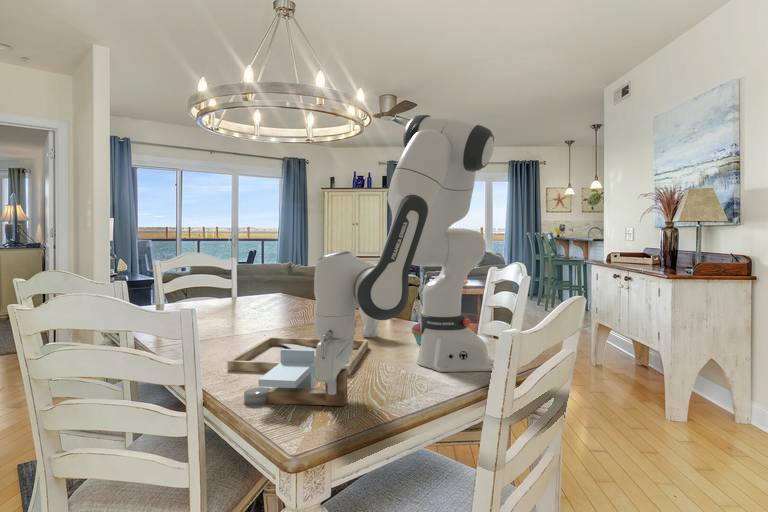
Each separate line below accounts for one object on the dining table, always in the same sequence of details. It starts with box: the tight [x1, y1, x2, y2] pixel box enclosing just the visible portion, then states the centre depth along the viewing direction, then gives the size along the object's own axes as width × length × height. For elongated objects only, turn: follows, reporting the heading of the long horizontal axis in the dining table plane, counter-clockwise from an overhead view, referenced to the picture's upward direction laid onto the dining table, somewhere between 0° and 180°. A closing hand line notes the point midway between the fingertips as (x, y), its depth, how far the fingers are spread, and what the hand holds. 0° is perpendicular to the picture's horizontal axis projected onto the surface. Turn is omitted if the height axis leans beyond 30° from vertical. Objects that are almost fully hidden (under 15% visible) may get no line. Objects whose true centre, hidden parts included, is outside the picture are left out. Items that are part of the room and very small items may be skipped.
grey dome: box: [243, 386, 272, 406], centre depth 100 cm, size 6×6×2 cm
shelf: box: [258, 348, 316, 389], centre depth 100 cm, size 8×14×10 cm, turn 173°
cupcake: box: [411, 307, 422, 345], centre depth 154 cm, size 9×8×12 cm
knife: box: [277, 343, 351, 365], centre depth 137 cm, size 37×8×2 cm, turn 38°
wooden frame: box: [226, 336, 369, 376], centre depth 135 cm, size 34×30×2 cm
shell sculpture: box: [358, 308, 380, 338], centre depth 164 cm, size 8×8×18 cm
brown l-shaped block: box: [267, 369, 348, 407], centre depth 98 cm, size 17×4×7 cm, turn 83°
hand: (335, 389), depth 97 cm, fingers closed on brown l-shaped block, 3 cm apart
